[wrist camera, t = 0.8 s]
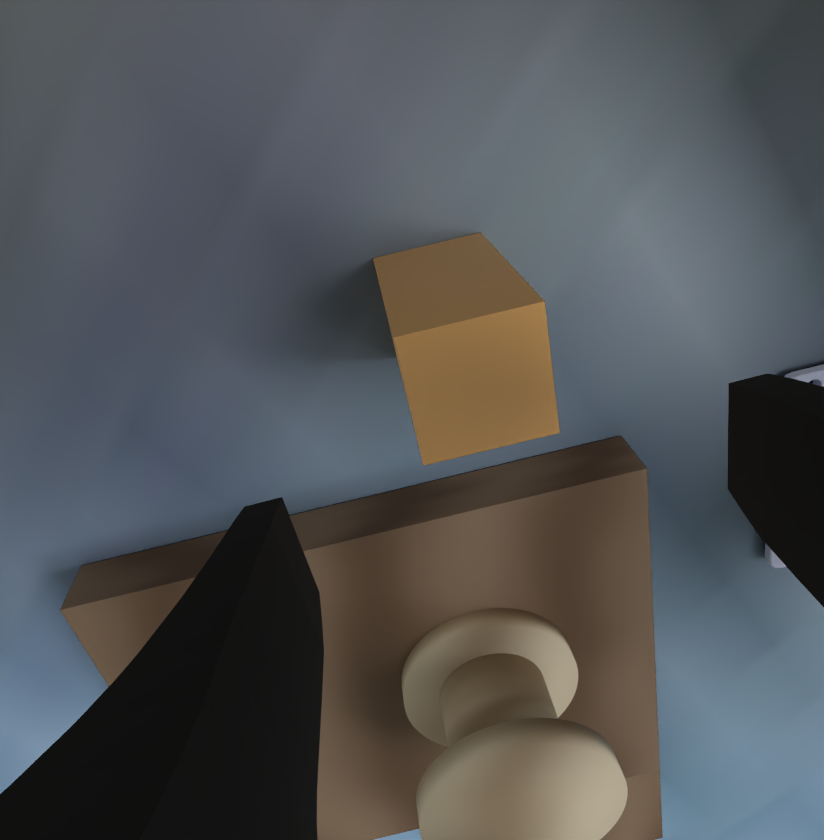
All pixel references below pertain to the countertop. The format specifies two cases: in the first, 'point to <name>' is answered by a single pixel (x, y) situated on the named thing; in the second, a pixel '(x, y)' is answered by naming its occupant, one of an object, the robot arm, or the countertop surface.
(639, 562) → the notched board
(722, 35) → the countertop surface
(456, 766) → the mushroom shaped handle
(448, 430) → the block
